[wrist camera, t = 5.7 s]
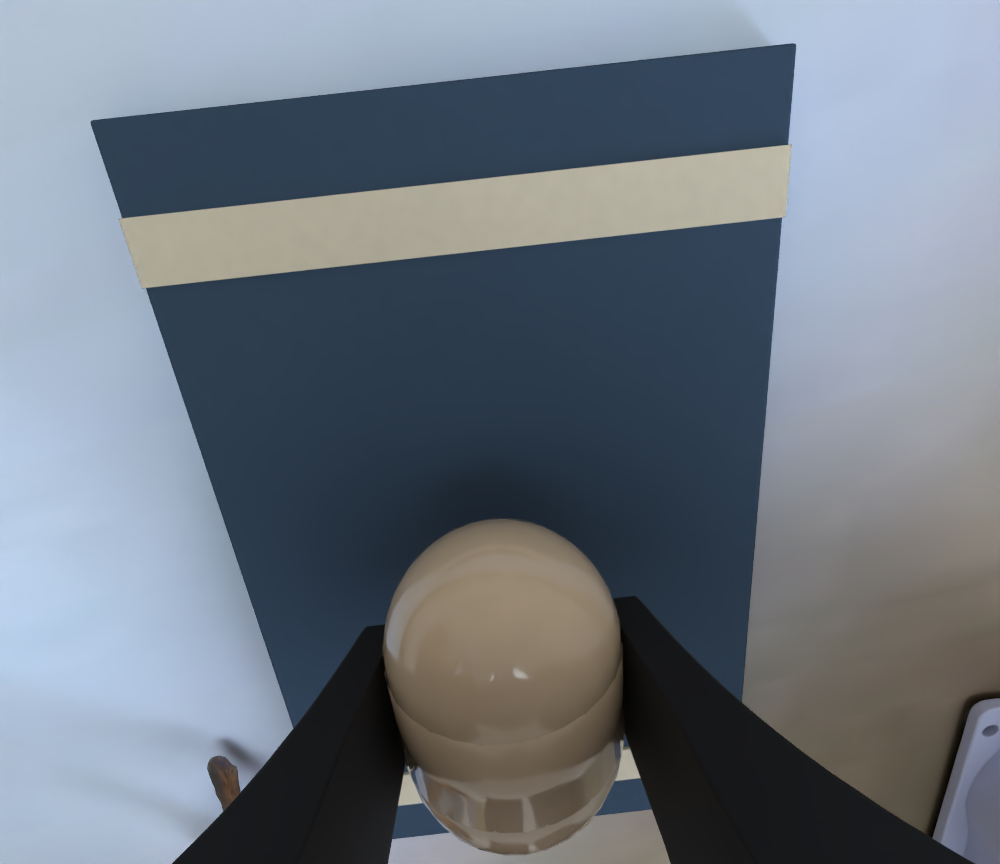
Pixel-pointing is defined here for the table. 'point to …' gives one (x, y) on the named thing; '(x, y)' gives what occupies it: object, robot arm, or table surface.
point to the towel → (475, 335)
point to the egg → (507, 684)
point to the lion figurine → (224, 779)
